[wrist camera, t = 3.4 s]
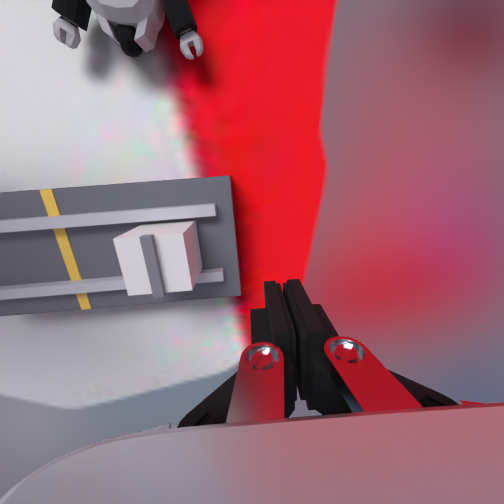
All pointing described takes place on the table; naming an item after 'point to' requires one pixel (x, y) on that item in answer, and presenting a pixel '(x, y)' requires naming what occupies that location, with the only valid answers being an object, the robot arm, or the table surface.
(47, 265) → the grey slider rail base
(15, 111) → the table surface
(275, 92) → the table surface
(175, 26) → the robot toy
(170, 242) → the fader tab
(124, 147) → the table surface
